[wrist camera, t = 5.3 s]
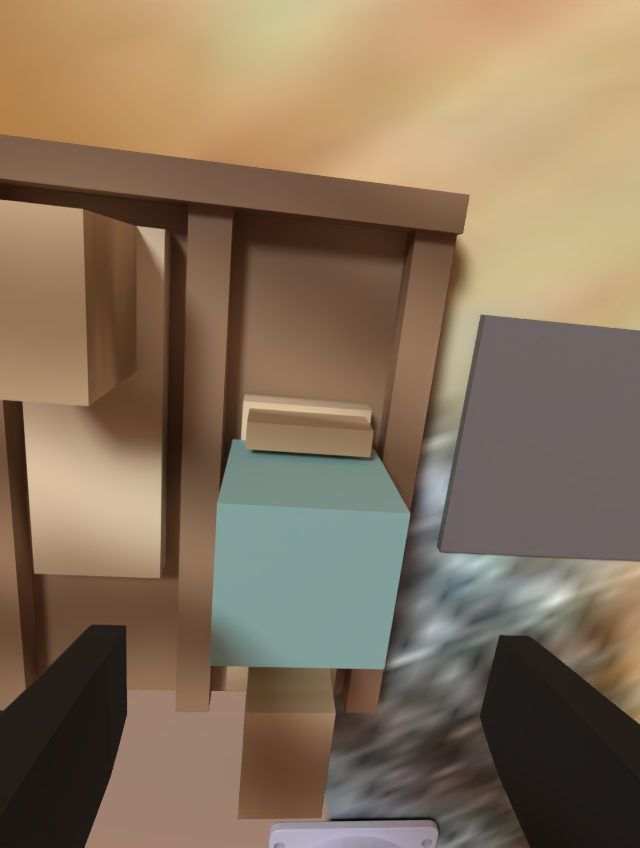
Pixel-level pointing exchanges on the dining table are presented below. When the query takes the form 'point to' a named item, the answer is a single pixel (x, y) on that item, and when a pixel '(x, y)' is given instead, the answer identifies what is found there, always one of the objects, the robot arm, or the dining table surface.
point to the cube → (305, 560)
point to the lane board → (231, 374)
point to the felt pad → (548, 444)
